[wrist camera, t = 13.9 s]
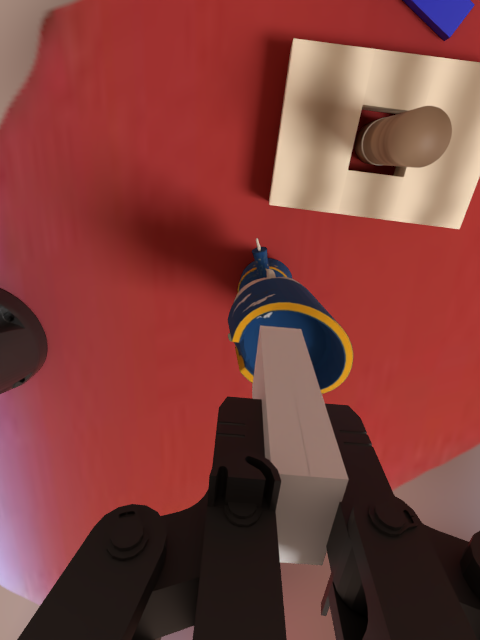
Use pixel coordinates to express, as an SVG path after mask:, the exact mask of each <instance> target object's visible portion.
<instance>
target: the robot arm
mask: <svg viewBox="0 0 480 640" xmlns="http://www.w3.org/2000/svg"><path fill="white" fill-rule="evenodd" d="M46 356H47V339H46V335H45V332H44V330H43V328H42V326H41V324H40V322H39V320H38V319H37V317H36V316H35V315H34V313H33V312H32V311H31V310H30V309H29V308H28V307H27V306H26V305H25V304H24V303H23V302H21V301H20V300H19V299H18V298H16V297H15V296H13V295H11V294H10V293H8V292H6V291H4V290H2V289H0V394H2V393H4V392H6V391H9V390H11V389H13V388H16V387H18V386H20V385H22V384H24V383H25V382H27V381H28V380H29V379H30V378H31V377H32V376H34V375H35V374H36V373H37V372H38V371H39V370H40V368H41V367H42V366H43V364H44V362H45V360H46ZM252 396H253V399H250V398H238V397H227V398H226V399H225V400H224V402H223V403H222V404H221V406H220V407H219V412H218V421H217V430H216V439H215V448H214V457H213V466H212V470H211V473H210V477H209V489H208V491H207V492H206V494H205V496H204V497H203V498H202V499H201V500H200V501H199V502H198V503H197V504H195V505H193V506H192V507H190V508H188V509H185V510H183V511H180V512H176V513H172V514H168V515H164V516H160V515H159V514H158V512H157V511H155V510H153V509H151V508H149V507H148V506H145V505H136V504H131V505H127V506H122V507H118V508H117V509H115V510H113V511H111V512H110V513H108V514H106V515H105V516H104V517H103V518H102V519H101V520H100V521H99V522H98V523H97V524H96V525H95V526H94V528H93V529H92V531H91V532H90V534H89V535H88V536H87V538H86V539H85V541H84V542H83V544H82V545H81V547H80V548H79V550H78V551H77V553H76V554H75V556H74V557H73V559H72V560H71V561H70V563H69V564H68V566H67V567H66V569H65V570H64V572H63V573H62V575H61V576H60V578H59V579H58V581H57V582H56V584H55V585H54V586H53V588H52V589H51V591H50V592H49V594H48V595H47V597H46V598H45V600H44V601H43V603H42V604H41V606H40V607H39V609H38V610H37V611H36V613H35V614H34V616H33V617H32V619H31V620H30V622H29V623H28V625H27V626H26V628H25V629H24V631H23V632H22V634H21V635H20V636H19V638H18V639H17V640H161V637H163V636H165V635H168V634H171V633H174V632H177V631H180V630H182V629H185V628H188V627H190V626H194V633H193V640H286V628H285V616H284V606H283V593H282V581H281V569H280V562H283V563H297V564H311V565H322V564H323V561H324V558H325V555H326V552H327V553H328V558H329V563H330V568H331V575H330V578H329V581H328V584H327V587H326V590H325V594H324V597H323V599H322V602H321V615H324V616H326V615H327V612H328V609H329V606H330V609H331V614H332V620H333V625H334V630H335V636H336V640H480V531H479V532H477V533H475V534H474V535H473V536H472V538H471V540H470V542H467V541H465V540H462V539H459V538H457V537H454V536H451V535H448V534H445V533H443V532H440V531H437V530H435V529H433V528H430V527H428V526H426V525H424V524H423V523H422V522H421V521H420V519H419V518H418V516H417V515H416V514H415V512H414V510H413V509H412V508H410V507H409V506H408V505H407V504H405V502H404V501H402V500H401V499H399V498H397V497H395V496H394V494H393V492H392V489H391V487H390V485H389V483H388V480H387V478H386V476H385V473H384V471H383V469H382V466H381V464H380V462H379V460H378V457H377V455H376V453H375V450H374V448H373V447H372V443H371V441H370V439H369V437H368V435H367V434H366V433H367V432H366V430H365V427H364V425H363V423H362V420H361V418H360V417H359V416H358V415H357V414H356V413H355V412H354V411H353V410H352V409H351V408H350V407H349V406H348V405H336V404H325V403H324V400H323V397H322V394H321V390H320V387H319V384H318V381H317V378H316V375H315V371H314V368H313V365H312V362H311V359H310V356H309V352H308V349H307V346H306V343H305V340H304V337H303V333H302V330H301V329H295V328H283V327H272V326H261V325H260V330H259V338H258V346H257V354H256V362H255V370H254V378H253V386H252Z"/></svg>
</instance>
